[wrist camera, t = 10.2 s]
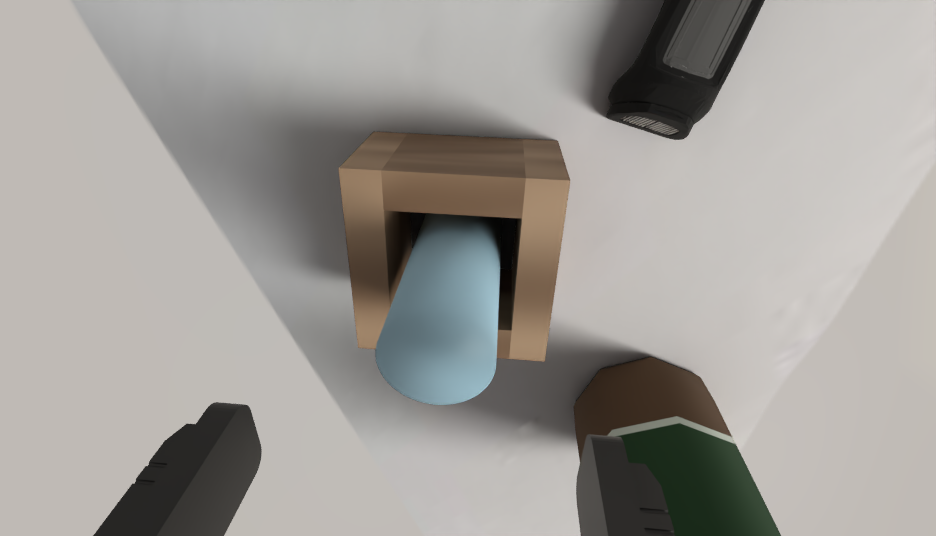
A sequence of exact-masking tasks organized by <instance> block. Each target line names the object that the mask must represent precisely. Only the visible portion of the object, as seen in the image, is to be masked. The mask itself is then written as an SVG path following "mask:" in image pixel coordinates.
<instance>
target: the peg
mask: <svg viewBox="0 0 936 536" xmlns="http://www.w3.org/2000/svg"><path fill="white" fill-rule="evenodd" d="M501 233H502V217H487V216H469V215H452V214H435V213H426V215H425V218H424V220H423V223H422V226H421V228H420V231H419V233H418V236H417V239H416V241H415V244H414V247H413V249H412V252H411V255H410V257H409V260H408V262H407V265H406V268H405V270H404V273H403V276H402V278H401V281H400V283H399V286H398V289H397V291H396V294H395V297H394V299H393V302H392V304H391V307H390V310H389V312H388V315H387V318H386V320H385V323H384V325H383V328H382V331H381V333H380V336H379V339H378V341H377V344H376V362H377V365H378V368H379V370H380V372H381V374H382V376H383V377H384V378H385V380H386V381H387V382H388V383H389V384H390V385H391V386H392V387H393V388H394V389H395V390H397V391H398V392H400V393H401V394H403V395H405V396H407V397H409V398H411V399H413V400H416V401H419V402H423V403H427V404H434V405H449V404H456V403H460V402H464V401H467V400H469V399H471V398H473V397H475V396H477V395H478V394H480V393H481V392H482V391H483V390H484V389H485V388H486V387H487V386H488V385H489V384H490V382H491V380H492V379H493V377H494V374H495V370H496V360H497V334H498V309H499V284H500V258H501Z"/></svg>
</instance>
